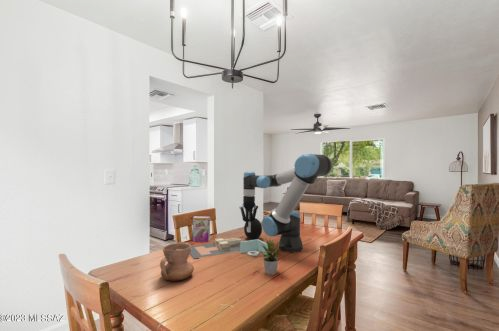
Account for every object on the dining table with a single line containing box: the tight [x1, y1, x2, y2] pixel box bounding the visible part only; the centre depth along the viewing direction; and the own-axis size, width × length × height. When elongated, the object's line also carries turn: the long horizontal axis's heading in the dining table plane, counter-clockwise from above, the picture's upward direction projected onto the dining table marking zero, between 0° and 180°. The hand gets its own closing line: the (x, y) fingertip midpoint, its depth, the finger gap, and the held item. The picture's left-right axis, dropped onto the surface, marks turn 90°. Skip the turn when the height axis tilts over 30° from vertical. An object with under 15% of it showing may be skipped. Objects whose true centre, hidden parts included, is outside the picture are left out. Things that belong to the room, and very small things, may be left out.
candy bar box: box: [191, 215, 211, 243], centre depth 175 cm, size 11×5×16 cm, turn 84°
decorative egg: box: [243, 217, 263, 240], centre depth 179 cm, size 12×12×15 cm
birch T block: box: [213, 237, 243, 252], centre depth 162 cm, size 15×15×4 cm
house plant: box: [257, 237, 283, 275], centre depth 125 cm, size 14×14×16 cm
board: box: [189, 242, 240, 260], centre depth 159 cm, size 22×36×1 cm, turn 117°
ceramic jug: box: [159, 241, 195, 282], centre depth 118 cm, size 18×14×14 cm
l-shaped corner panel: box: [239, 238, 268, 258], centre depth 148 cm, size 12×12×8 cm
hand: (248, 231), depth 169 cm, fingers closed
